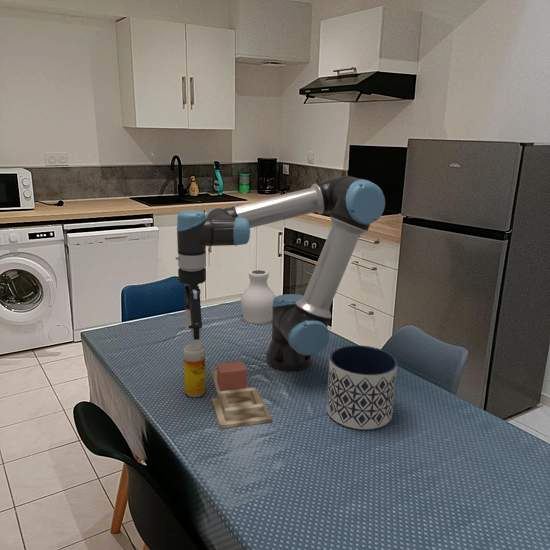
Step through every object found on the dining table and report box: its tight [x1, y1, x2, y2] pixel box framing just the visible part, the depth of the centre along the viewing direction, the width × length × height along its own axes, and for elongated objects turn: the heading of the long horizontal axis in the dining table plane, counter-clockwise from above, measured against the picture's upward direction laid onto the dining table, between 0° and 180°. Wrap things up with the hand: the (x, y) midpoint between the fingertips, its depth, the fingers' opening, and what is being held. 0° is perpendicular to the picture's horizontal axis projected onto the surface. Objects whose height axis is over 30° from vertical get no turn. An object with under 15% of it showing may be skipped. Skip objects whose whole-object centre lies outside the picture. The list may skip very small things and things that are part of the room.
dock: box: [210, 369, 273, 430], centre depth 152 cm, size 14×31×4 cm, turn 15°
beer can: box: [183, 342, 207, 398], centre depth 151 cm, size 6×6×15 cm
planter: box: [326, 344, 398, 430], centre depth 143 cm, size 18×18×16 cm
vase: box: [240, 268, 276, 325], centre depth 208 cm, size 14×14×20 cm
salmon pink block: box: [216, 360, 248, 391], centre depth 156 cm, size 8×6×6 cm
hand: (193, 339), depth 148 cm, fingers open, 13 cm apart
